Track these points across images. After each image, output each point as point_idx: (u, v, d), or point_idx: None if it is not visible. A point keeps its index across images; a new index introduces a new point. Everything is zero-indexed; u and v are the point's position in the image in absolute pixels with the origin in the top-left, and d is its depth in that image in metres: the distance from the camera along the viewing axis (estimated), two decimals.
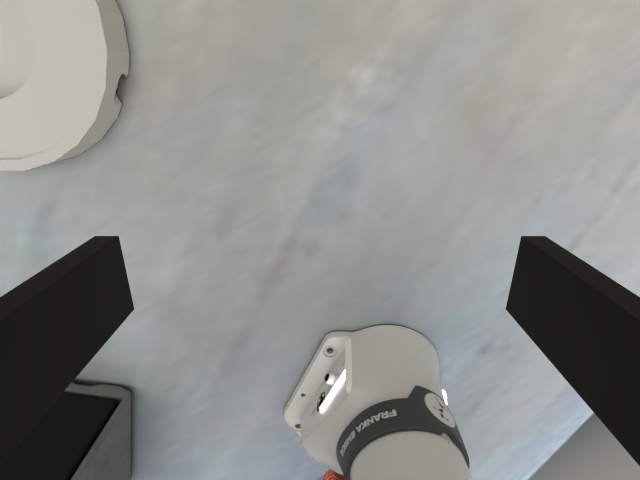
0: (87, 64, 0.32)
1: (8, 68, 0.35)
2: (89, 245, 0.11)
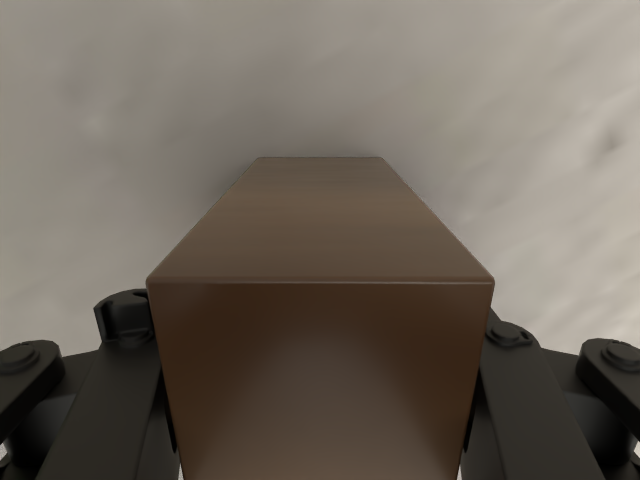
0: None
1: None
2: None
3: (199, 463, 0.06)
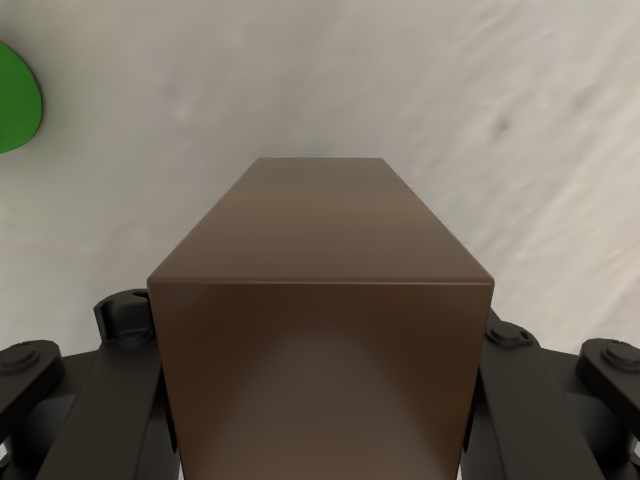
0: None
1: None
2: None
3: (199, 463, 0.06)
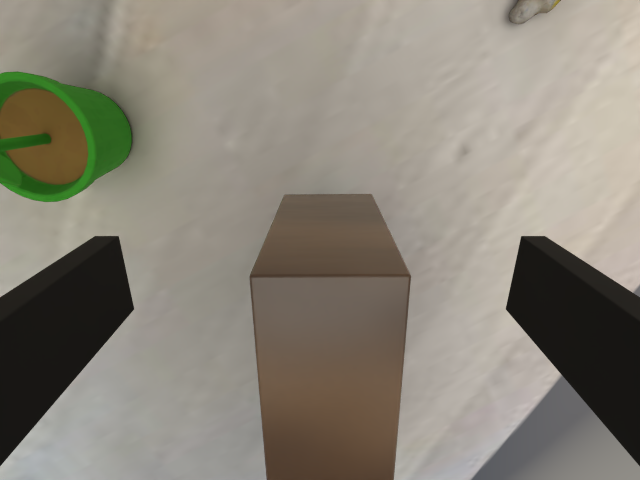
0: None
1: None
2: (89, 245, 0.11)
3: (267, 371, 0.12)
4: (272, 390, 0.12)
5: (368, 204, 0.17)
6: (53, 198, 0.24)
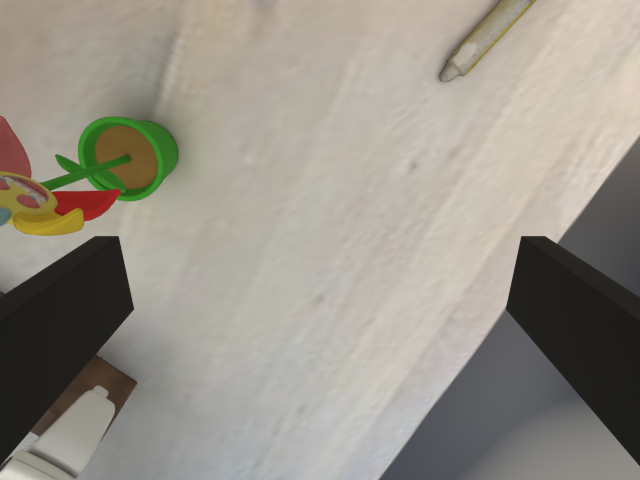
0: None
1: None
2: (89, 245, 0.11)
3: None
4: None
5: None
6: (132, 199, 0.36)
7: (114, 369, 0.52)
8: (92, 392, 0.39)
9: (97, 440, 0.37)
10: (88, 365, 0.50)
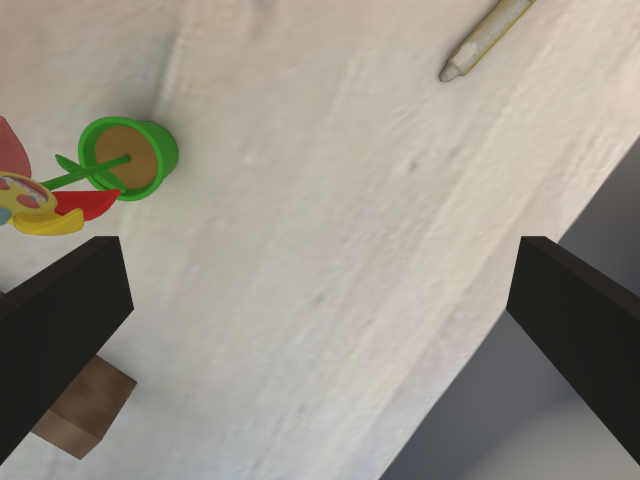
0: None
1: None
2: (89, 245, 0.11)
3: None
4: None
5: None
6: (132, 199, 0.36)
7: (114, 369, 0.52)
8: None
9: None
10: (88, 365, 0.50)
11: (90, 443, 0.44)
